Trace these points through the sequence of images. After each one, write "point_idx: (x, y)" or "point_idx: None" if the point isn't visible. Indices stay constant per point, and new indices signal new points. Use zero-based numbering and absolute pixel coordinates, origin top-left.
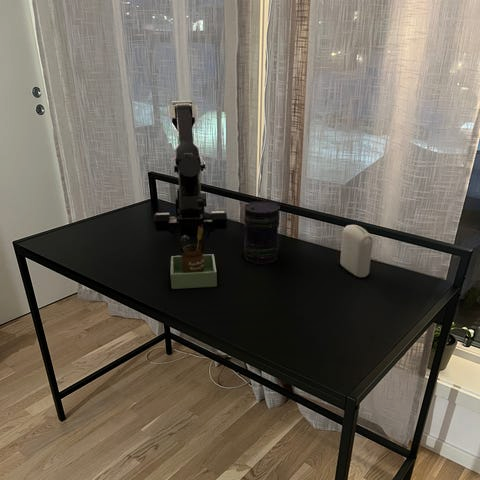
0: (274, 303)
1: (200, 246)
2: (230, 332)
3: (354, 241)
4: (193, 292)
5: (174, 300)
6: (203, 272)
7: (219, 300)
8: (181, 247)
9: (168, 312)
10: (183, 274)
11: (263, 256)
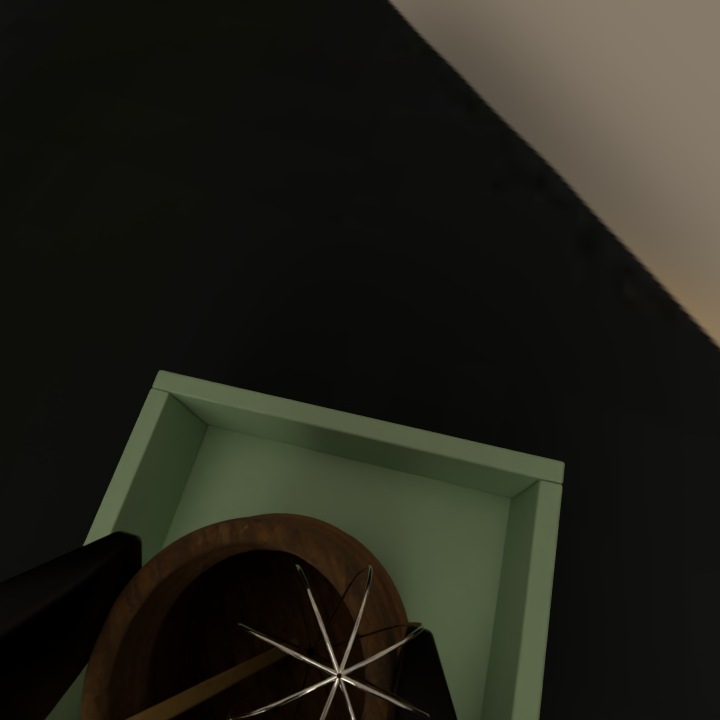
0: (28, 143)
1: (82, 708)
2: (329, 9)
3: None
4: (383, 383)
5: (526, 321)
6: (262, 398)
7: (266, 243)
8: (419, 667)
9: (577, 207)
10: (440, 434)
11: None
